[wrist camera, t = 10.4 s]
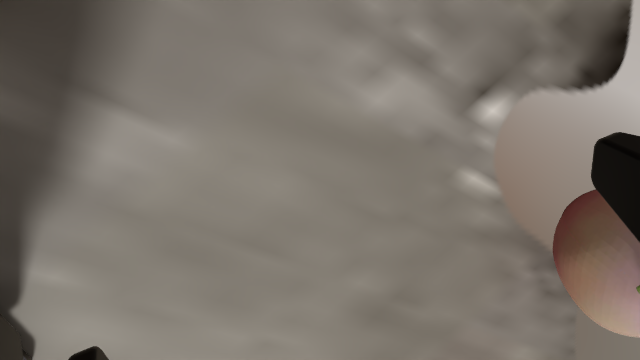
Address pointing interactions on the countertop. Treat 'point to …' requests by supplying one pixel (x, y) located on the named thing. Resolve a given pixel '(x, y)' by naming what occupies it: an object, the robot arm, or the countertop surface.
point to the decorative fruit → (599, 263)
